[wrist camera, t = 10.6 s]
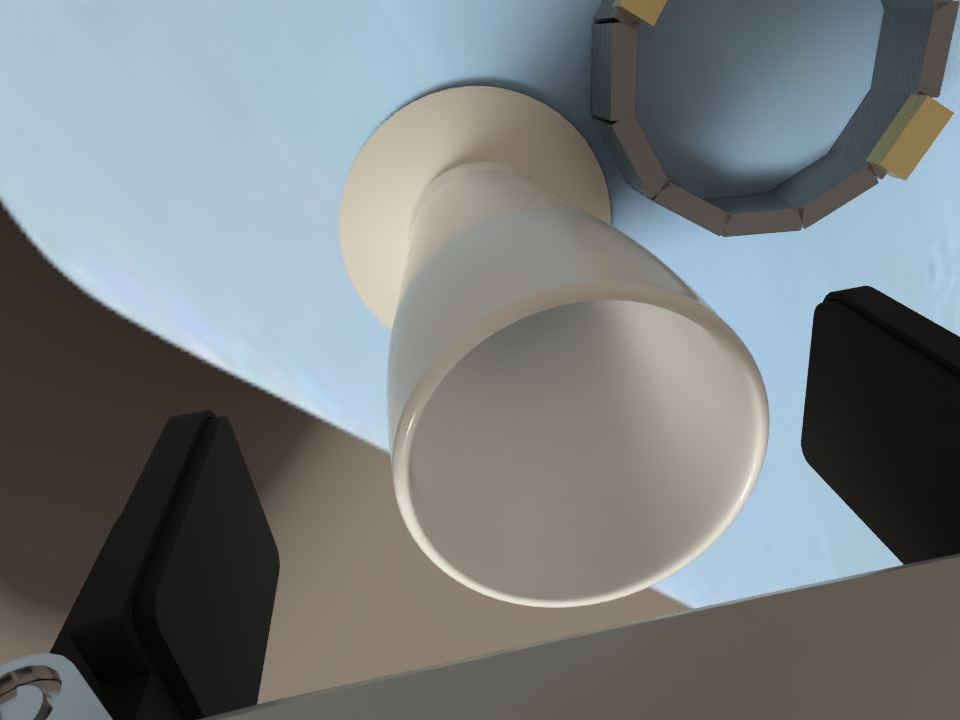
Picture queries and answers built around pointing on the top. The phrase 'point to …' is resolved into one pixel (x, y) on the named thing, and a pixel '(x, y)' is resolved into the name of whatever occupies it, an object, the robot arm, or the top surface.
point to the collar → (828, 182)
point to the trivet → (438, 148)
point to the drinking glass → (560, 398)
